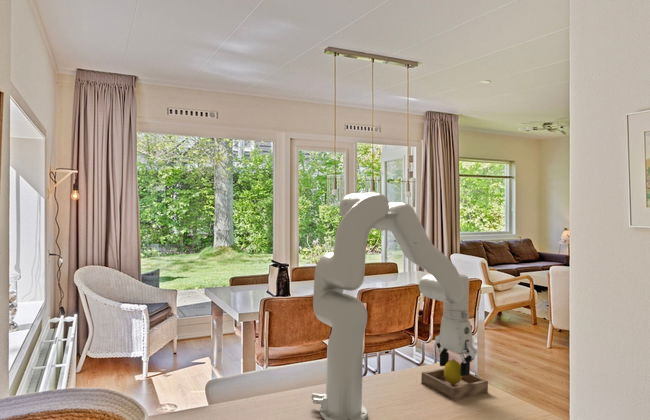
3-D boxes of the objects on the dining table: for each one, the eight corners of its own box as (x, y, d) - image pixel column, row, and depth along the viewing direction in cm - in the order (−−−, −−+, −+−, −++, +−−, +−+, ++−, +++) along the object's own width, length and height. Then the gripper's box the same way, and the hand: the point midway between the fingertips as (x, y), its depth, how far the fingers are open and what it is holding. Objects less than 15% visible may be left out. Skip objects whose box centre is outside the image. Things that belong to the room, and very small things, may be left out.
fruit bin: (452, 400, 129) (453, 388, 129) (421, 383, 141) (421, 372, 141) (487, 392, 136) (487, 381, 136) (454, 376, 148) (454, 366, 148)
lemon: (462, 389, 135) (463, 363, 135) (443, 387, 137) (444, 361, 137) (461, 383, 141) (462, 357, 141) (443, 381, 142) (444, 355, 142)
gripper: (486, 319, 133) (484, 378, 133) (445, 307, 148) (443, 360, 148) (467, 321, 129) (466, 382, 129) (427, 309, 145) (426, 363, 144)
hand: (454, 370), depth 139 cm, fingers open, 8 cm apart
